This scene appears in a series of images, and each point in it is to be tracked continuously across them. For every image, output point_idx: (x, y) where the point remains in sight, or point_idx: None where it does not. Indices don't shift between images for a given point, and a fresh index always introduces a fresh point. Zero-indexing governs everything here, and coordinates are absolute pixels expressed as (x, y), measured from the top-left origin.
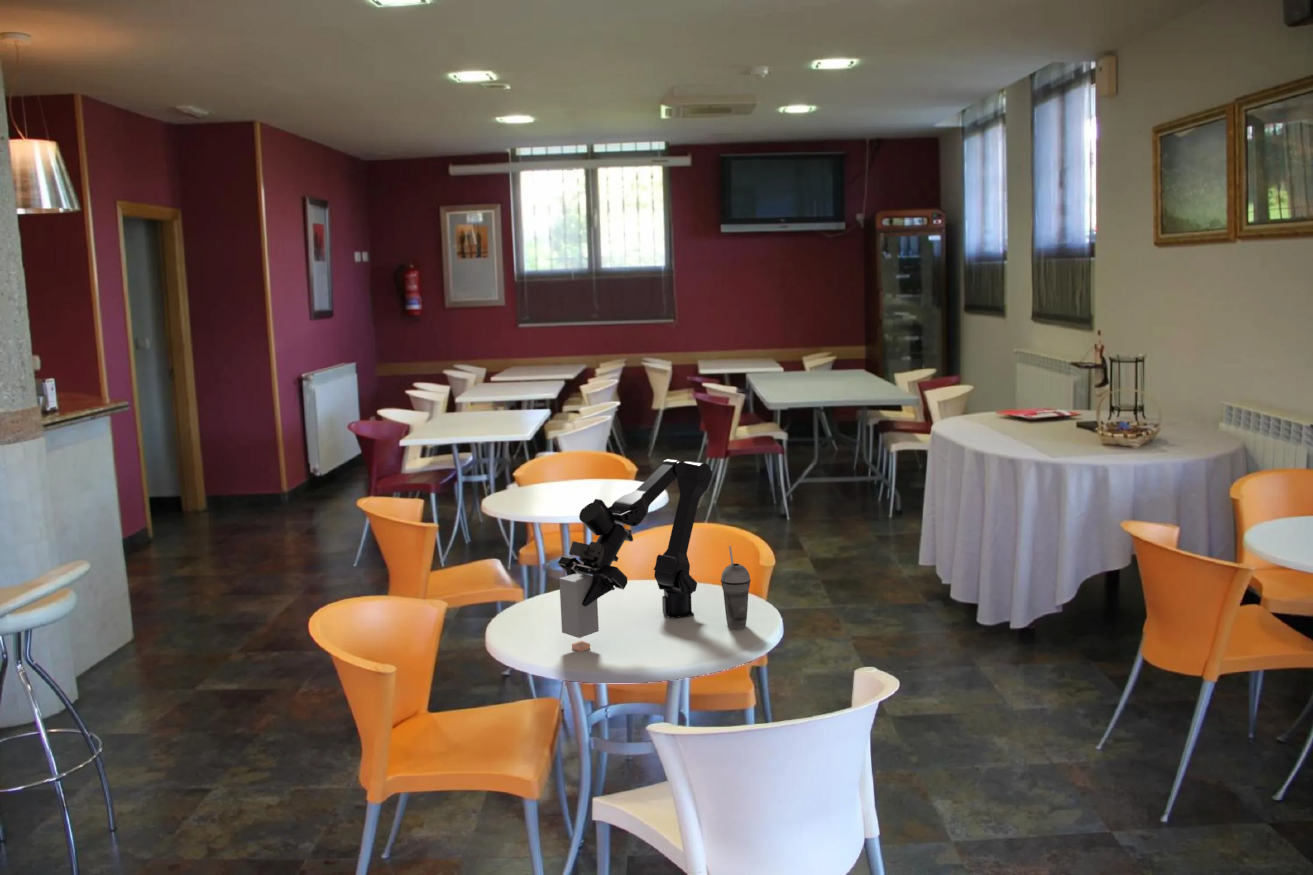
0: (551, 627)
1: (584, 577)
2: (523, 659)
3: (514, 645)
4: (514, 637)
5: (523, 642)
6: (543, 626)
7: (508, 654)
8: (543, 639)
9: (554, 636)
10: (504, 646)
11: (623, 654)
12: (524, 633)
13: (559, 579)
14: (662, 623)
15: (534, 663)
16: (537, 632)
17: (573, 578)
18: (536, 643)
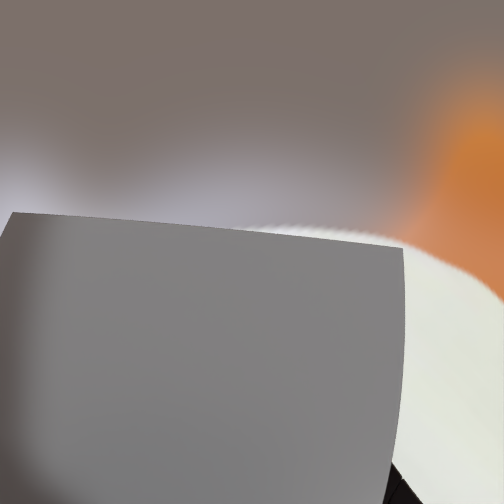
0: (471, 491)
1: (14, 485)
2: (338, 238)
3: (452, 308)
4: (497, 356)
5: (453, 344)
6: (493, 477)
7: (405, 245)
8: (426, 406)
9: (415, 451)
10: (463, 285)
11: None
12: (500, 399)
13: (392, 261)
14: None
15: (285, 231)
16: (479, 434)
17: (124, 381)
18: (417, 365)
